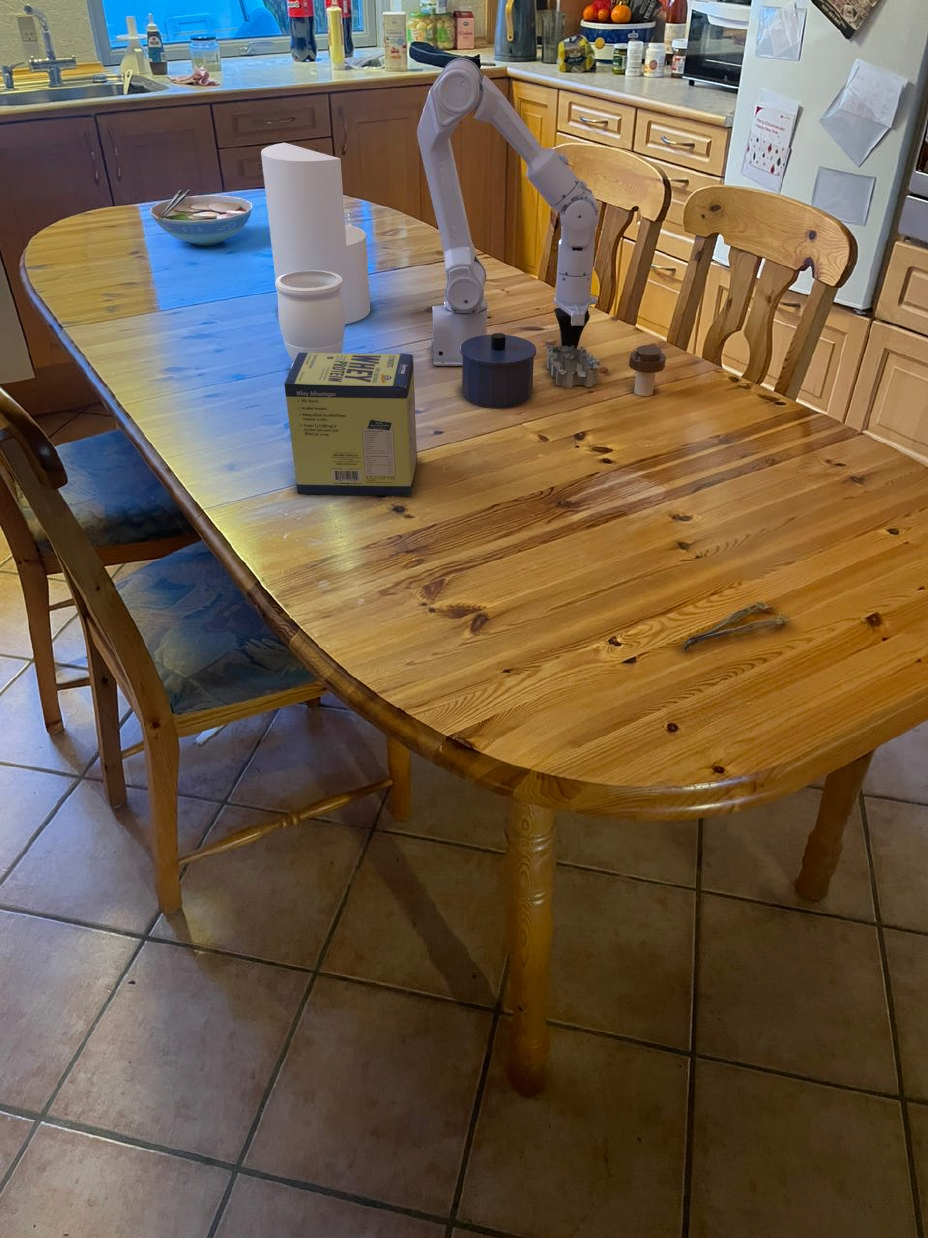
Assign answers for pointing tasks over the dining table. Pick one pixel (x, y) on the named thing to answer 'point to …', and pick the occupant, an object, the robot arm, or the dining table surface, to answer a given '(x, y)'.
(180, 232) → the ramen bowl
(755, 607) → the tongs
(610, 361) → the dining table surface
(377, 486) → the protein box
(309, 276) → the jar
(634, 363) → the mushroom
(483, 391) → the pot
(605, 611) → the dining table surface
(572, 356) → the egg carton
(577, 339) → the robot arm
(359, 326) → the dining table surface
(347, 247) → the cylinder
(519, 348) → the pot lid
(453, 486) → the dining table surface
